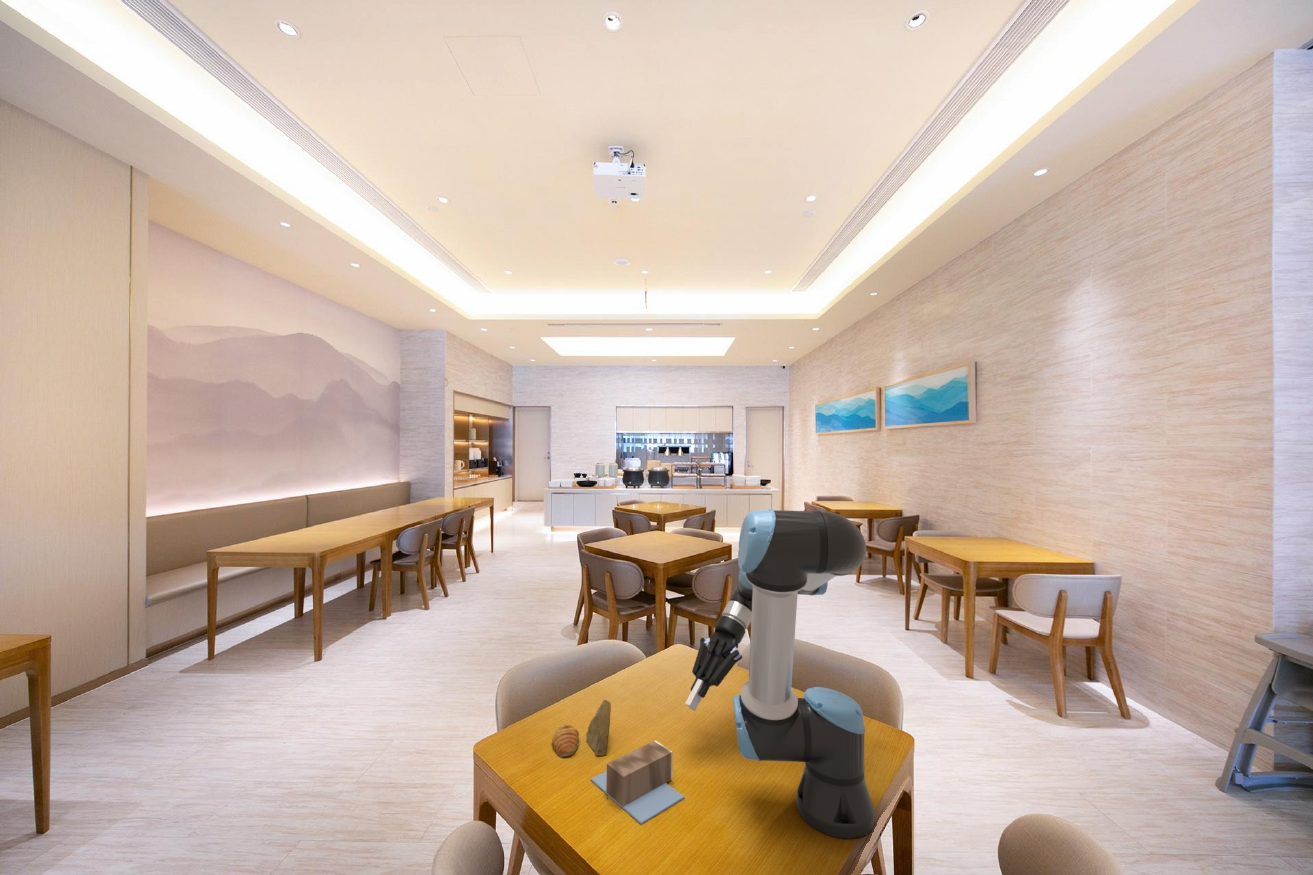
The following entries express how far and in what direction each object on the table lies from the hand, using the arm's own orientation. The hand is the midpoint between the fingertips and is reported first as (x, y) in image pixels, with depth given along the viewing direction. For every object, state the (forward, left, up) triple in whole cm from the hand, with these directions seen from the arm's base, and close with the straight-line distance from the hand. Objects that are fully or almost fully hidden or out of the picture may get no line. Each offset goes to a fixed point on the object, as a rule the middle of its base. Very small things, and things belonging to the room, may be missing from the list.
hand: (690, 707), depth 120 cm
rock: (+20, +13, -13) cm, 27 cm away
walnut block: (0, +8, -9) cm, 12 cm away
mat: (0, +16, -13) cm, 21 cm away
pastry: (+25, +19, -13) cm, 34 cm away
